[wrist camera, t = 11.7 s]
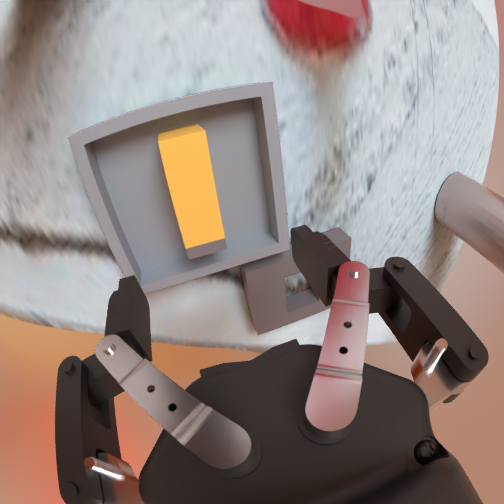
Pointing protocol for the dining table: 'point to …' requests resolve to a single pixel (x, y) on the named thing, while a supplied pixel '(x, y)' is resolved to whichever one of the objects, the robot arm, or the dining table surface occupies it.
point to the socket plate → (282, 288)
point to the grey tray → (157, 190)
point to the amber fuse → (192, 189)
